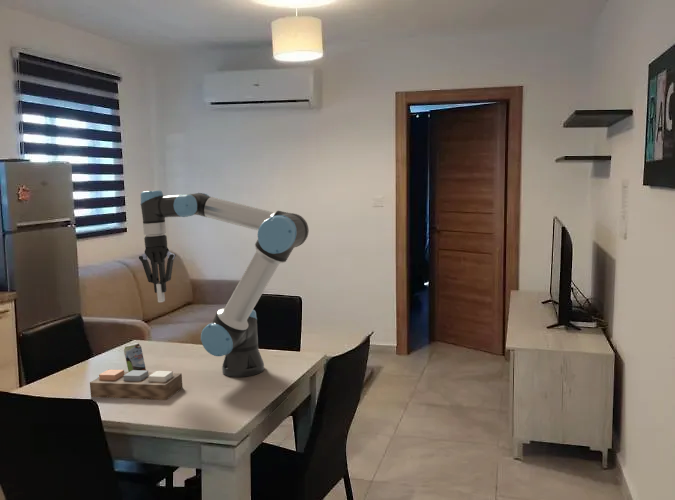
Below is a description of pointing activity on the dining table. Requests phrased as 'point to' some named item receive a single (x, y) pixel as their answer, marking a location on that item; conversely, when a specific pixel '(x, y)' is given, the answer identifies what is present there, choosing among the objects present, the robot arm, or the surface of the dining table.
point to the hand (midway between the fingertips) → (161, 301)
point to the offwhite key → (160, 376)
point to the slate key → (136, 375)
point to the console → (136, 388)
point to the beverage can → (134, 357)
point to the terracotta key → (111, 374)
